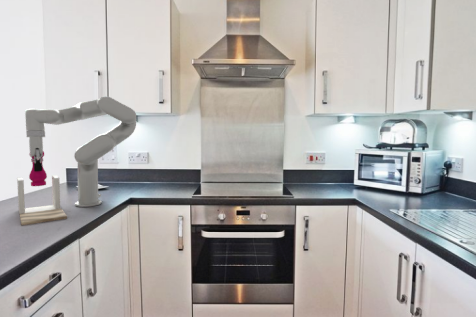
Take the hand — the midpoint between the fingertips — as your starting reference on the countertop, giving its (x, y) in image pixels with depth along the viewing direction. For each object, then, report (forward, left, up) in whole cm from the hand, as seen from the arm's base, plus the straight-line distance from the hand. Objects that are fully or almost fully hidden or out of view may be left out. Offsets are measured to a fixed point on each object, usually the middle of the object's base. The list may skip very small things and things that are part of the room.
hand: (37, 170), depth 140 cm
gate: (+4, +3, -19) cm, 20 cm away
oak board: (+16, +14, -19) cm, 29 cm away
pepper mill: (0, 0, -8) cm, 8 cm away
